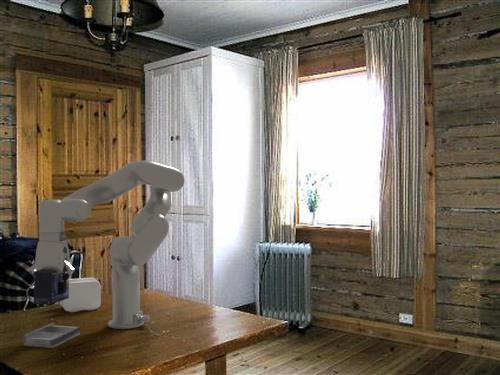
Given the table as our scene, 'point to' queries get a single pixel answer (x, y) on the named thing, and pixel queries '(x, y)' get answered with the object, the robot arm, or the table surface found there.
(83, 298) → the cable organizer
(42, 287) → the small box
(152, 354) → the table surface
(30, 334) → the rail seat
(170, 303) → the table surface
